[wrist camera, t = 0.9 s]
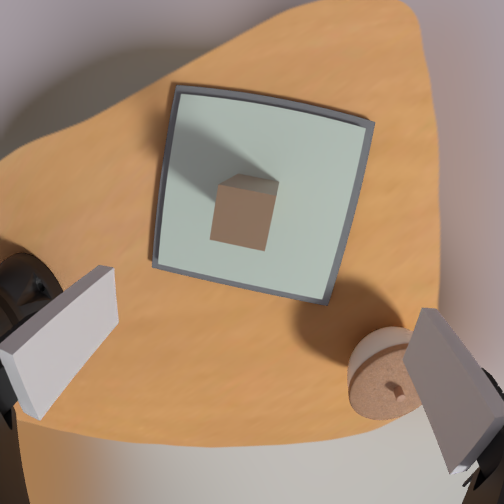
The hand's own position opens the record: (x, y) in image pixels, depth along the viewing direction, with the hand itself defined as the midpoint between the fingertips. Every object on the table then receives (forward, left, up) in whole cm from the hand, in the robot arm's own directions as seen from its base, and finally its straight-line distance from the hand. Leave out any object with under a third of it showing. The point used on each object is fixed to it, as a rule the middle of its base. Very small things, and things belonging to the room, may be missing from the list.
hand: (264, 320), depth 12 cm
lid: (-3, +1, -20) cm, 20 cm away
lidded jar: (+16, -14, -21) cm, 30 cm away
